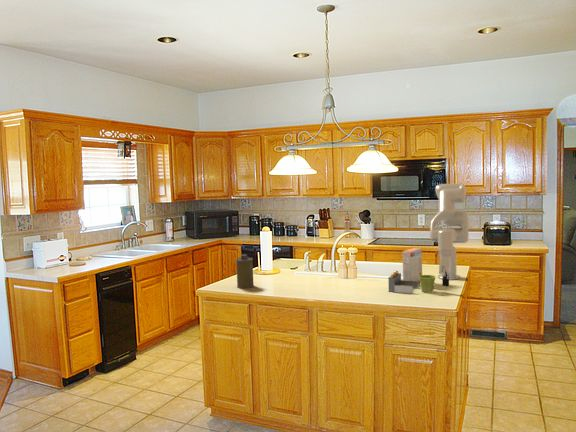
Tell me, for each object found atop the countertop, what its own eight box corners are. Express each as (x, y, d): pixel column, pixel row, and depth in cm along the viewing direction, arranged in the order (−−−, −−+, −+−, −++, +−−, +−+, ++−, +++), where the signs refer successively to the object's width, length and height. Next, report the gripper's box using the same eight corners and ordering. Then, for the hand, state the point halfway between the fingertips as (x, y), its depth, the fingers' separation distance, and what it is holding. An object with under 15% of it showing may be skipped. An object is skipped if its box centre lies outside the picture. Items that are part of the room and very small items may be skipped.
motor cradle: (395, 286, 279) (395, 269, 279) (418, 287, 273) (418, 270, 272) (388, 291, 266) (388, 274, 265) (412, 293, 260) (412, 276, 259)
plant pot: (434, 294, 257) (433, 278, 256) (416, 292, 262) (416, 277, 261) (437, 290, 265) (437, 275, 264) (420, 289, 270) (420, 274, 269)
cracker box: (413, 281, 291) (413, 247, 289) (422, 282, 287) (422, 248, 285) (402, 285, 281) (401, 250, 279) (411, 286, 277) (411, 251, 275)
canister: (250, 288, 286) (249, 256, 285) (234, 288, 289) (233, 256, 287) (256, 284, 297) (254, 253, 295) (240, 284, 299) (239, 253, 298)
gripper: (440, 250, 265) (441, 282, 266) (435, 254, 252) (436, 288, 253) (454, 251, 262) (455, 283, 263) (450, 254, 248) (450, 289, 249)
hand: (445, 285), depth 258 cm, fingers closed
